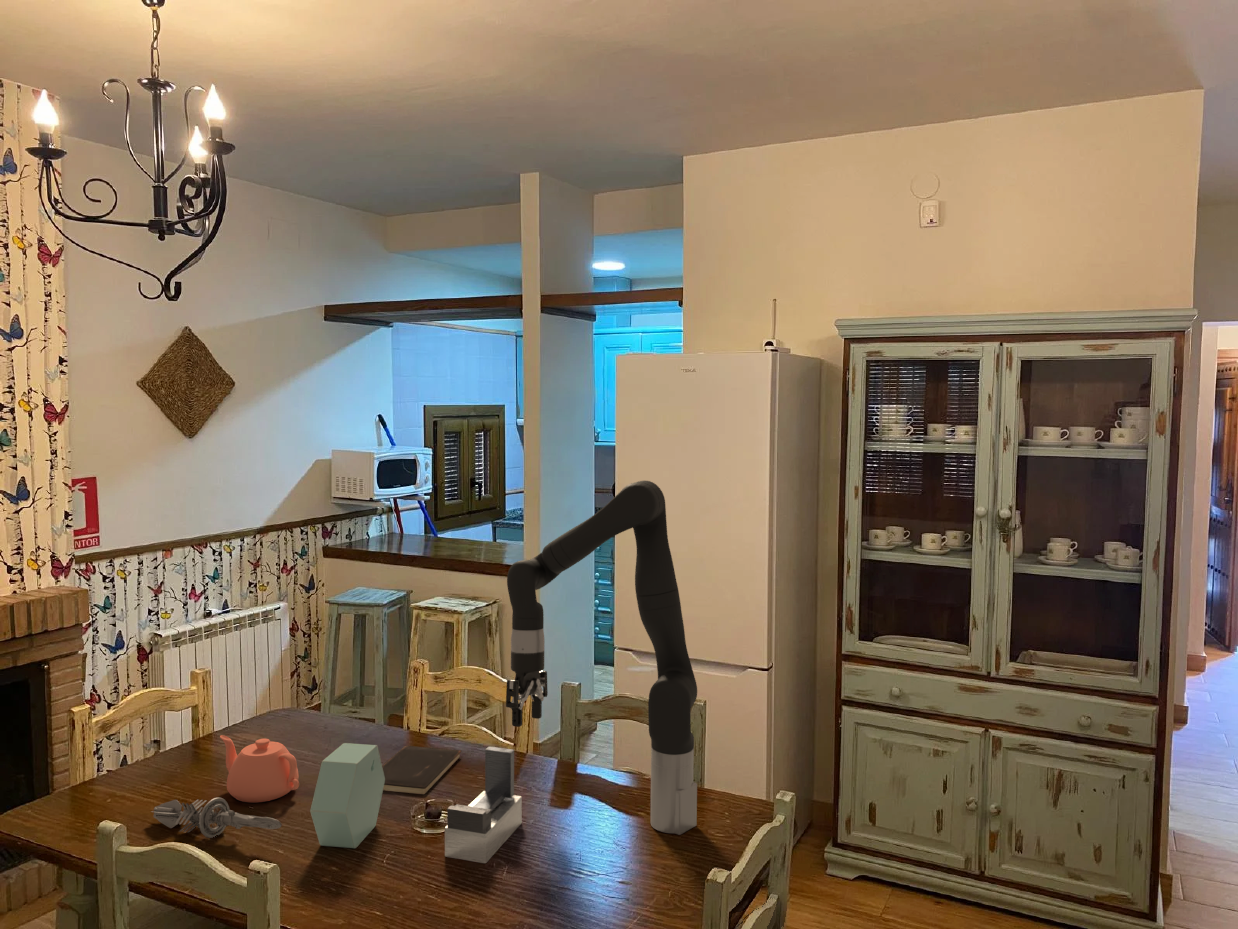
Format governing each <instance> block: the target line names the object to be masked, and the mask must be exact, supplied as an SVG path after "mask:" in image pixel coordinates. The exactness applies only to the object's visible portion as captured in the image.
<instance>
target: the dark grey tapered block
mask: <svg viewBox="0 0 1238 929" xmlns="http://www.w3.org/2000/svg"><path fill="white" fill-rule="evenodd" d="M484 761H485V762H484V764H485V765H484V766H485V767H484V770H485V771H484V773H485V774H484V779H485V780H484V781H485V782H484V783H485V784H484V786H485V788H484V789H485V790H484V791H485V794H486V795H485V796H484V797H483V798H482V799H480V800H479V801H478V802H477V803H476V804H475V805H474V806H473V807H478V808H484V809H491V811H492V810H493V809H494V808H495V807H496V806H497V805H498V804H499V803H500V802H501V801H502V800H503V799H504V798H505V797H506V798H511V797H512V796H513V795H515V749H511V748H503V747H497V746H496V747H495V746H488V747H487V748H485V750H484Z"/></svg>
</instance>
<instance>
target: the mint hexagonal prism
mask: <svg viewBox="0 0 1238 929" xmlns="http://www.w3.org/2000/svg"><path fill="white" fill-rule="evenodd" d="M379 751H380V750H379V747H378V744H365V743H364V744H363V743H349V742H343V743H342V744H340V745H339V747H337V748H336V749H335V750H334V751H332V752H330V754H329V755H328V756H326V757H325V758H324V759H323V760H322V761H321V765H320V767H319V773H318V777H317V781H316V785H315V788H314V793H313V799H312V802H311V806H310V810H309V812H310V815H311V820H312V822H313V825H314V830H315V833H316V837H317V839H318V844H319V845H320V846H324V847H336V848H346V849H347V848H348V849H357V847H358V846H359V845H360V844H361V843H362V842H363V841H364V840H365V839H366V837H367V836H369V834H370V833H371V832H372V831H373V829H374V828H375V827H376V825H377V821H378V816H379V811H380V807H381V802H382V796H383V791H384V790H383V788H384V783H385V776H384V772H383V768H382V765H383V764H382V761H381V760H382V759H381V756H380V755H381V754H380V752H379Z"/></svg>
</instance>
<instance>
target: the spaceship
mask: <svg viewBox="0 0 1238 929" xmlns="http://www.w3.org/2000/svg"><path fill="white" fill-rule="evenodd" d="M203 800H204V799H201V800H200V799H196V800H194V802H192V803H190V804H189V803H188V802H186V803H184V802H181V803H180V801H178V799H173V800H170V801H166V802H164V803H161V804H159V805H156V806H154V808H153V810H152V811H150V812H151V813H153V816H152V817H153V818H154V819H156V820H157V821H158V822H159V823H161V824H162V825H164V826H166V827H168V828H169V829H172V828H174V827H176V826H177V825H178V824H179V825H183V827H182V828H181V829H180V830H179V832H183V833H186V832H187V833H190V832H191V831H193V830H194V829H196V828H198V829H199V830H200V833H201V834H202V835H203V836H204V837H205V838H208V839H213V837H214V838H216V837H217V836H216V835H218V836H220V835H221V833H223V832H224V830H225V829H226V827H228V826H230V827H235V829H237V830H240V829H241V828H242V827H251V828H260V829H267V830H277V829H280V828H281V827H282V823H281V821H280V820H278V819H275V818H273V817H268V816H257V815H248V814H241V813H239V812H235V811H234V810H231V809H230V805H229V804H228V802H227V801H226V799H224V798H222V797H214V798H212V799H211V800H208V799H207V800H206V799H205V800H204V801H203ZM206 802H207V803H206ZM205 803H206V804H205ZM204 804H205V805H204ZM203 805H204V807H203ZM182 807H183V808H182ZM182 809H183V810H182ZM219 809H220V810H219ZM184 825H185V826H184ZM215 825H216V826H215ZM196 826H197V827H196ZM195 827H196V828H195ZM215 836H216V837H215Z"/></svg>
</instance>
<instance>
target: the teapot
mask: <svg viewBox="0 0 1238 929" xmlns="http://www.w3.org/2000/svg"><path fill="white" fill-rule="evenodd" d="M219 737H220V739H221V740H222V742H223V744H224V746H225V766H226V770H227V772H228V775H227V778H226V790H227V792H228V793H229V794H230V796H231V797H233V798H234V799H236V800H237V801H240V802H243V803H265V802H270V801H273V800H277V799H279V798H282V797H284V796H285V795H288V793H290V792H291V791H296V790H297V789H298V788H299V787H300V781H299V778H300V777H299V769H298V765H297V764H298V763H297V762H298V761H297V759H296V757H295V756H294V755H293V754H291V753H290V751H289V750H288V749H287V747H286V746H285V745H284V744H282V743H281V742H277V741H271V740H270V739H269V738H259V739H256V740H255V742H254V743H251V744H249V745H246V746H245V747H244V748H242V749H240V750H241V751H240V752H239V753H238V754H237V751H236V747H235V744H234V741H233V740H232V739H231V738H230V737H228V736H226V735H224V734H223V735H219Z"/></svg>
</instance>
